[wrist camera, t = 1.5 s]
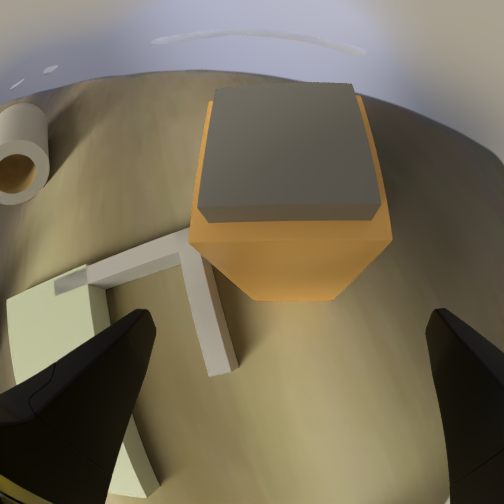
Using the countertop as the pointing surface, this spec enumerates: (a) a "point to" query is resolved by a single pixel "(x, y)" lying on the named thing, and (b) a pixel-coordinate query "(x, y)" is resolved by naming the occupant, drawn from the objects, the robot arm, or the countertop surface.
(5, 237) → the countertop surface
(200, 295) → the plate with l-bracket
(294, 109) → the chute block
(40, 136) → the toilet paper
